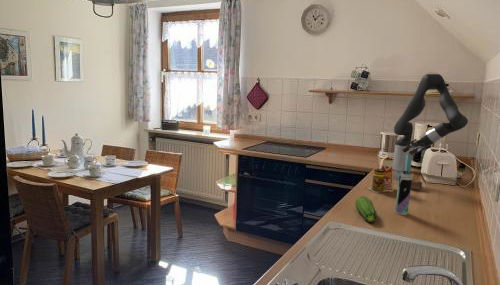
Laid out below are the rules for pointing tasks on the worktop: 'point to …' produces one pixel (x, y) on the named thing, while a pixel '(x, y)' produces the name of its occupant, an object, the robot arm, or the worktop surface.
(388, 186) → the milk carton
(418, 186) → the socket
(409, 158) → the light blue flat panel
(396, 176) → the sleeve
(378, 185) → the condiment
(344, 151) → the worktop surface
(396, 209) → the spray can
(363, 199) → the vegetable
